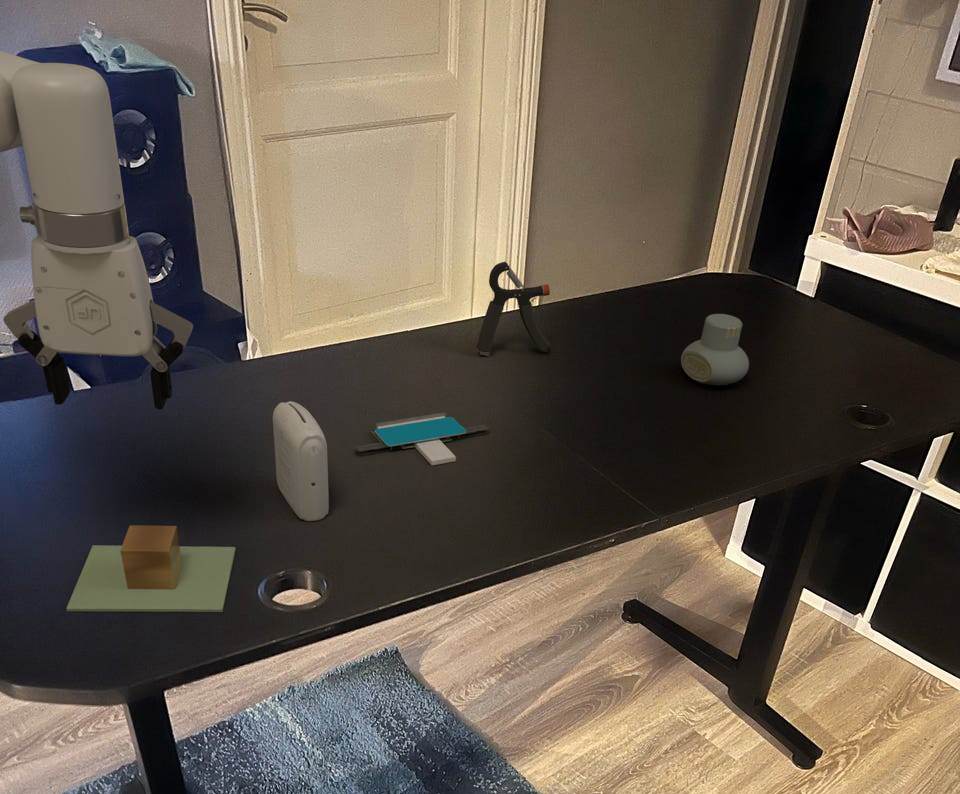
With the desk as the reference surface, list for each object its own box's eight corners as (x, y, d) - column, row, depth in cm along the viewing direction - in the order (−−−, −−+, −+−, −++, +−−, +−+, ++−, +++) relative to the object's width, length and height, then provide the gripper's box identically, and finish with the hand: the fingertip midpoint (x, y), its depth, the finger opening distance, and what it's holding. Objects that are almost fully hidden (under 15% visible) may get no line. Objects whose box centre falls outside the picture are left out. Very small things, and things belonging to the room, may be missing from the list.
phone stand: (375, 476, 128) (375, 465, 127) (343, 436, 136) (342, 426, 135) (508, 451, 136) (509, 441, 135) (470, 415, 144) (471, 405, 143)
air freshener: (670, 371, 162) (681, 312, 155) (705, 363, 165) (718, 304, 159) (716, 397, 155) (730, 336, 148) (752, 387, 159) (767, 328, 152)
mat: (66, 611, 102) (66, 608, 101) (93, 548, 111) (92, 545, 111) (222, 612, 103) (222, 609, 103) (235, 549, 113) (235, 546, 112)
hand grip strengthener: (551, 355, 163) (561, 265, 154) (479, 357, 161) (485, 265, 151) (547, 350, 165) (557, 260, 156) (476, 352, 162) (482, 260, 153)
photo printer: (333, 518, 119) (331, 426, 111) (300, 525, 117) (295, 432, 110) (305, 479, 126) (300, 390, 118) (273, 485, 124) (266, 395, 117)
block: (127, 589, 105) (120, 550, 102) (136, 563, 108) (129, 525, 105) (175, 589, 105) (168, 551, 102) (182, 563, 109) (176, 525, 106)
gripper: (-32, 230, 83) (11, 413, 94) (174, 243, 85) (194, 422, 96) (-4, 205, 89) (34, 381, 100) (189, 218, 91) (206, 389, 102)
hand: (112, 401), depth 98 cm, fingers open, 9 cm apart
